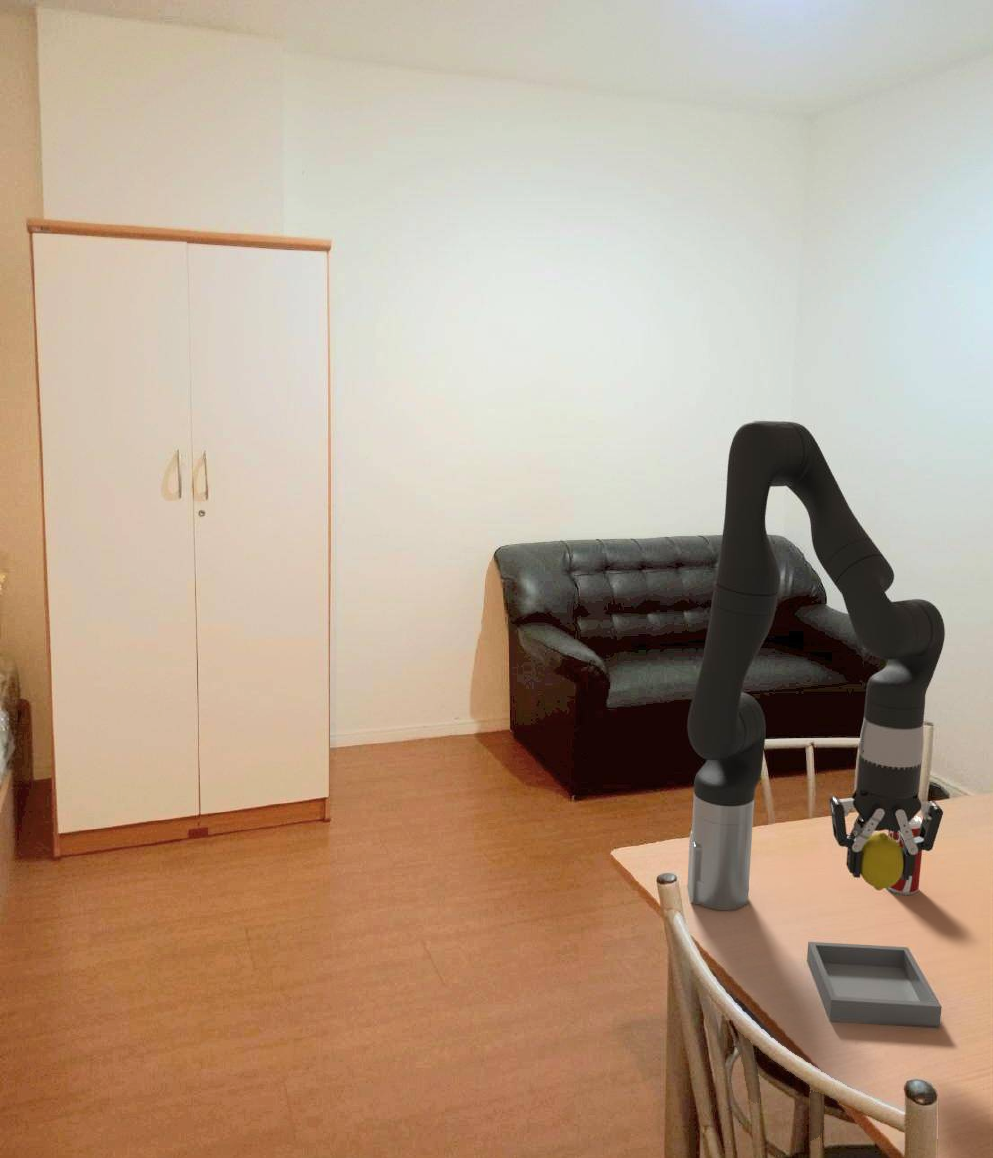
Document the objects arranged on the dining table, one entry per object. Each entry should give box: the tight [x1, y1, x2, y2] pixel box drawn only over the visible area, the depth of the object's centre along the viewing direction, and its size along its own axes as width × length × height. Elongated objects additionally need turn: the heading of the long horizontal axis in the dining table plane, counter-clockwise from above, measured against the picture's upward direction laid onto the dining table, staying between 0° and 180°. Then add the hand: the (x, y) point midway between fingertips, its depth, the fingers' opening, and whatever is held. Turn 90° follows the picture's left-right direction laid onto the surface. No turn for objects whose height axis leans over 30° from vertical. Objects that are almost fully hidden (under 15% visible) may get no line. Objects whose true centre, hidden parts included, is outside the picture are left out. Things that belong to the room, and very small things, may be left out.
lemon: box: [860, 832, 903, 892], centre depth 130 cm, size 6×6×8 cm
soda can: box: [886, 815, 923, 896], centre depth 160 cm, size 5×5×12 cm
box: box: [806, 941, 943, 1029], centre depth 133 cm, size 14×14×3 cm
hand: (879, 875), depth 130 cm, fingers closed on lemon, 5 cm apart
